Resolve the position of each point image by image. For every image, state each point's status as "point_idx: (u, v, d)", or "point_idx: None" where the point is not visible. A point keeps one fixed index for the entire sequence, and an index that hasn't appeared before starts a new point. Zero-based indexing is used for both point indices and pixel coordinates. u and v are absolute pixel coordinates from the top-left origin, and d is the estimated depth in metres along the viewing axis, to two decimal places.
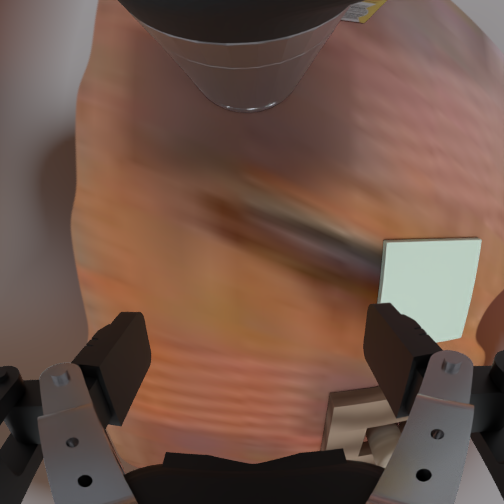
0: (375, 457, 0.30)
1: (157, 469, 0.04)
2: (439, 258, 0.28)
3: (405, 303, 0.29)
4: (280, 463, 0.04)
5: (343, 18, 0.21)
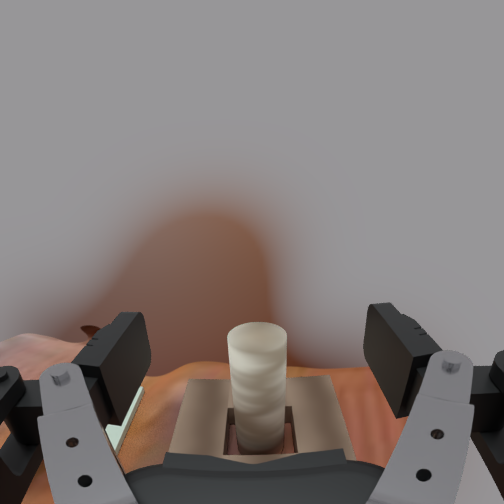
0: (257, 425, 0.23)
1: (157, 469, 0.04)
2: None
3: None
4: (280, 463, 0.04)
5: None
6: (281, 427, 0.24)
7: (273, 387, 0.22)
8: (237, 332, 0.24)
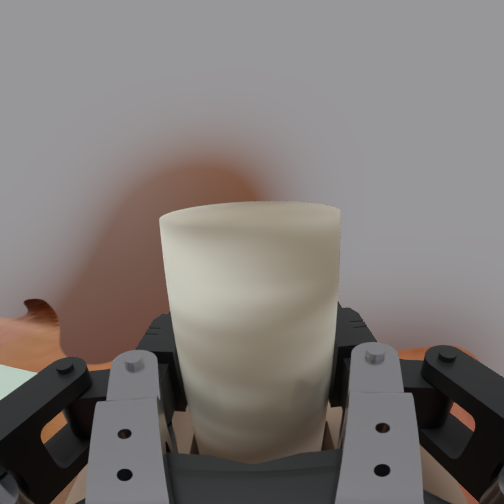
0: None
1: None
2: None
3: None
4: (281, 464, 0.04)
5: None
6: None
7: (305, 377, 0.07)
8: (193, 211, 0.08)
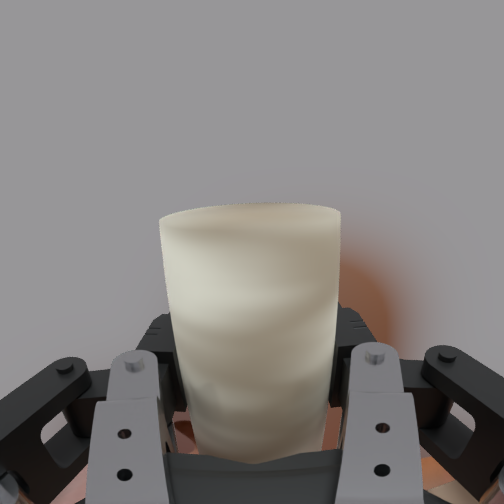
0: None
1: None
2: None
3: None
4: (280, 464, 0.04)
5: None
6: None
7: (304, 380, 0.07)
8: (193, 213, 0.08)
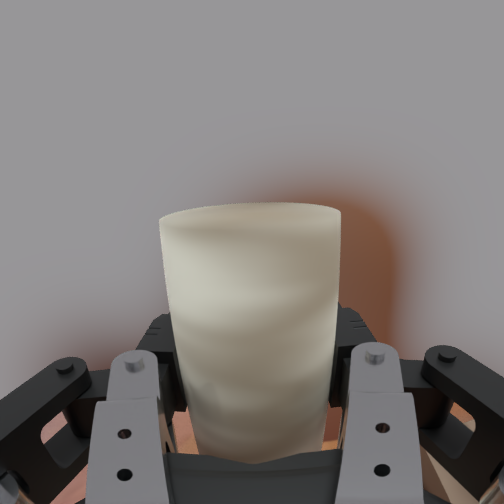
0: None
1: None
2: None
3: None
4: (280, 464, 0.04)
5: None
6: None
7: (305, 379, 0.07)
8: (192, 212, 0.08)
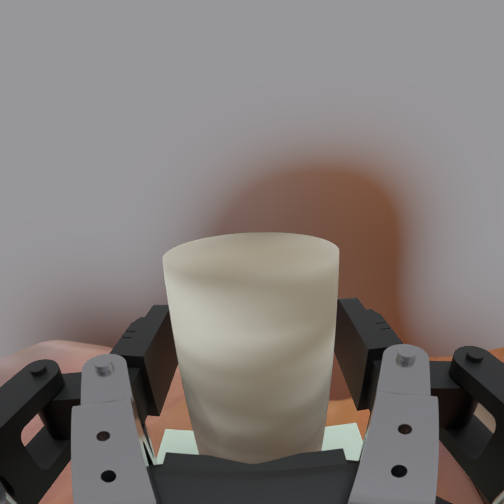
0: None
1: (157, 469, 0.04)
2: None
3: None
4: (281, 463, 0.04)
5: None
6: None
7: (303, 408, 0.07)
8: (195, 247, 0.09)
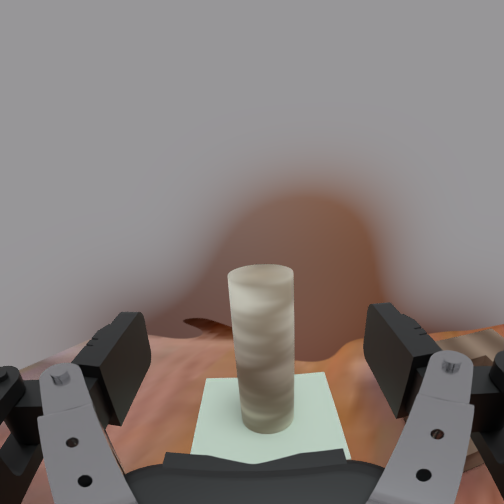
0: (264, 384, 0.21)
1: (157, 469, 0.04)
2: (219, 415, 0.25)
3: (273, 440, 0.22)
4: (280, 464, 0.04)
5: None
6: (291, 389, 0.22)
7: (281, 333, 0.20)
8: (238, 272, 0.22)
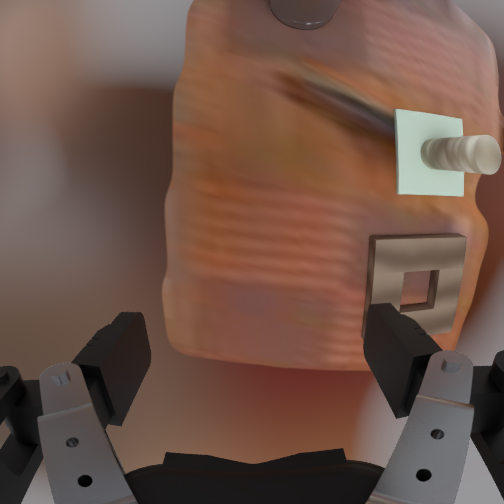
0: (440, 151, 0.33)
1: (157, 469, 0.04)
2: (433, 126, 0.37)
3: (415, 155, 0.39)
4: (280, 464, 0.04)
5: None
6: (440, 167, 0.35)
7: (459, 162, 0.30)
8: (491, 141, 0.26)
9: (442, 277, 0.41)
